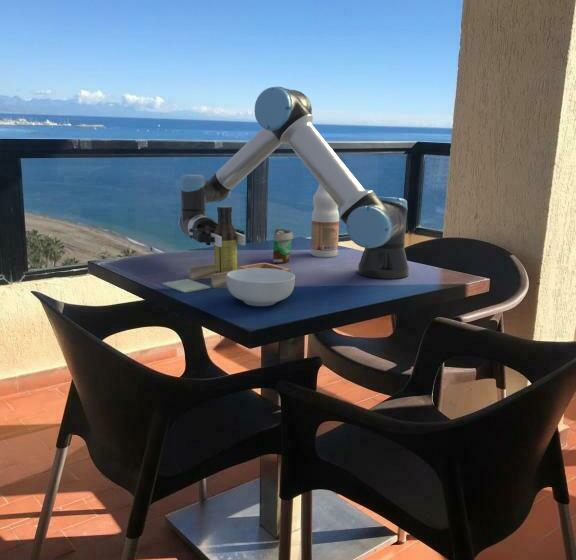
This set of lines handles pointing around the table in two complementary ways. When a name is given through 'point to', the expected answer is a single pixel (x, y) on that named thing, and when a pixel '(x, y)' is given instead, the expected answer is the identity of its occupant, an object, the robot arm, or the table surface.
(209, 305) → the table surface
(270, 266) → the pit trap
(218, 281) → the trough
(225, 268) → the sauce bottle
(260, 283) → the cereal bowl
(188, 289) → the pad
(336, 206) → the fruit juice
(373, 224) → the robot arm
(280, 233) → the food container
